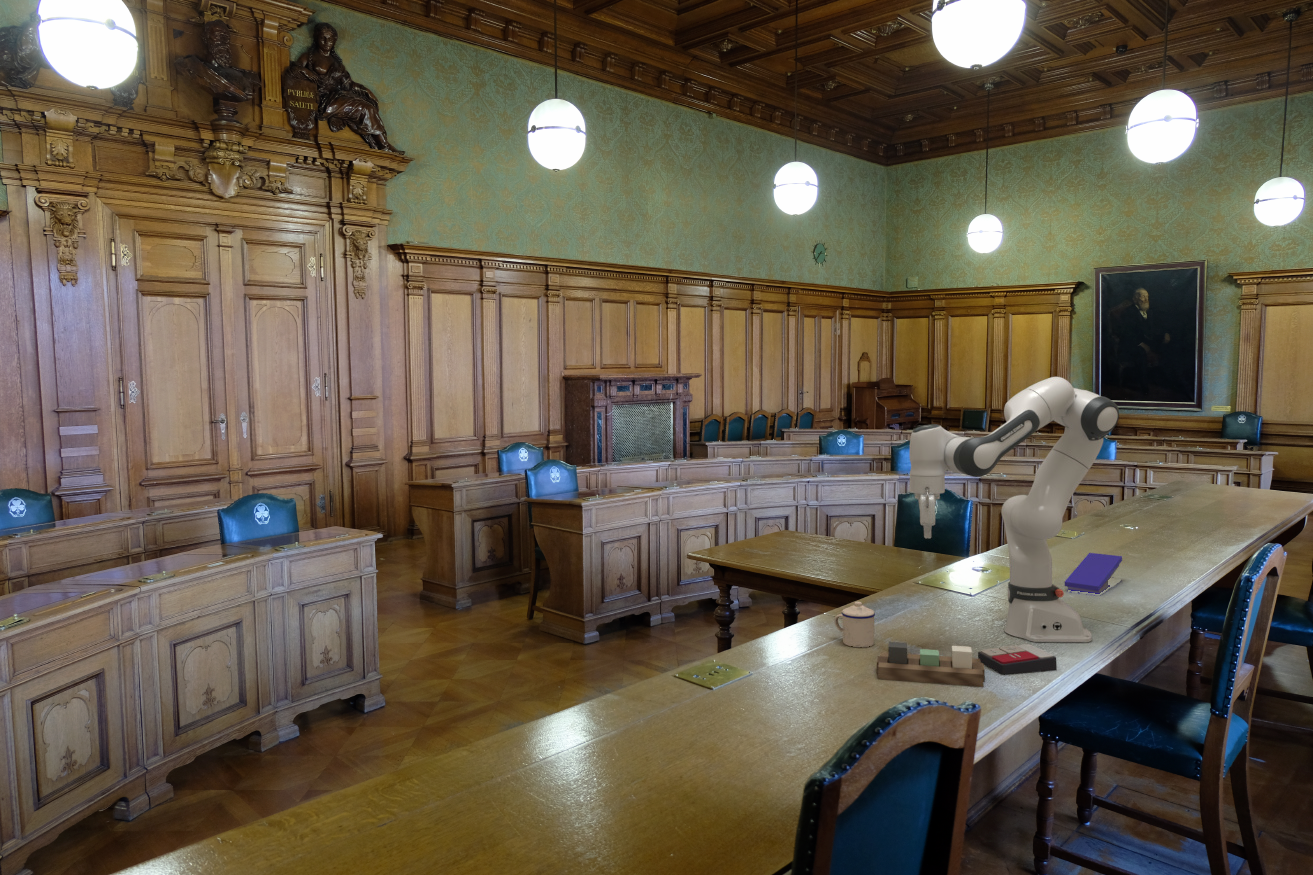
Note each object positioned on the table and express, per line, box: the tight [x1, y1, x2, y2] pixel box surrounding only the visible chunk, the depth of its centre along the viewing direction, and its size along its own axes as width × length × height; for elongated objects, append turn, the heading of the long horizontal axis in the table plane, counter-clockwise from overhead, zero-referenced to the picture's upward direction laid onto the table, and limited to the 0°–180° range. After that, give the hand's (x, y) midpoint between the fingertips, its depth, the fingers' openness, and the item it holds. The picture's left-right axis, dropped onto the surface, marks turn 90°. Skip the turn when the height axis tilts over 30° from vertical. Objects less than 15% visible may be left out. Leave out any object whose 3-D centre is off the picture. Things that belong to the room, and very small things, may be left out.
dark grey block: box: [887, 641, 908, 664], centre depth 205 cm, size 4×4×5 cm
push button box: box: [977, 643, 1058, 676], centre depth 208 cm, size 11×4×15 cm
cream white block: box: [951, 645, 973, 669], centre depth 200 cm, size 4×4×5 cm
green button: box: [919, 648, 940, 667], centre depth 203 cm, size 4×4×5 cm
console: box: [876, 651, 986, 688], centre depth 203 cm, size 25×12×3 cm, turn 72°
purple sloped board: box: [1064, 552, 1123, 594], centre depth 287 cm, size 12×28×10 cm, turn 137°
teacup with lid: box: [834, 601, 876, 648], centre depth 231 cm, size 12×9×12 cm
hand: (927, 537), depth 218 cm, fingers closed
